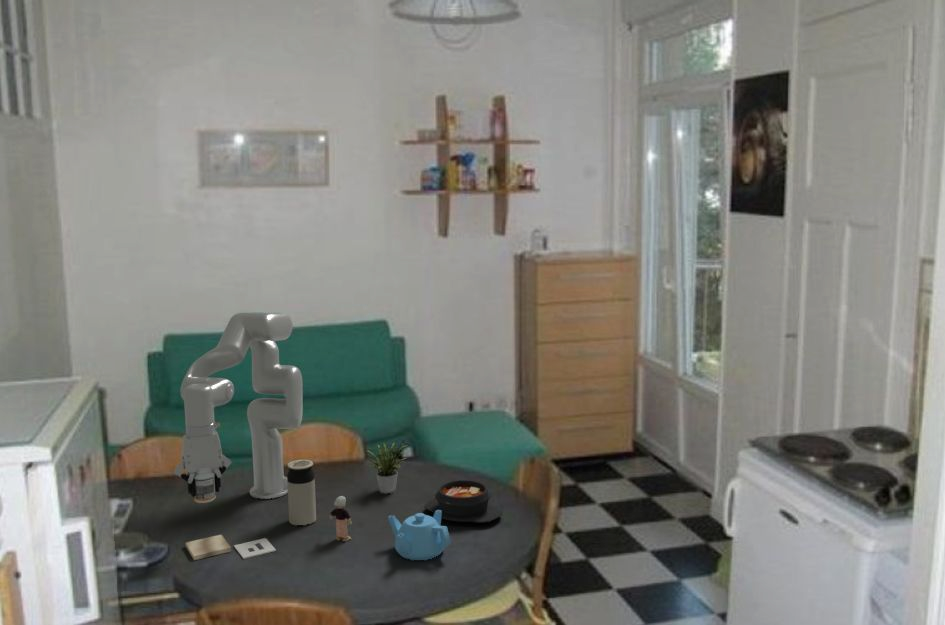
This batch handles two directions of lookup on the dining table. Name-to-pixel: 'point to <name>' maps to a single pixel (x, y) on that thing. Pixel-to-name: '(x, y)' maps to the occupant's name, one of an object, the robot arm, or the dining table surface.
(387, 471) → the house plant
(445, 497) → the casserole
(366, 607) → the dining table surface
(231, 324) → the robot arm
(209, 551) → the coaster
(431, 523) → the teapot
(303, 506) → the travel mug
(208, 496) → the pill bottle
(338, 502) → the grandmother figurine
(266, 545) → the tile
